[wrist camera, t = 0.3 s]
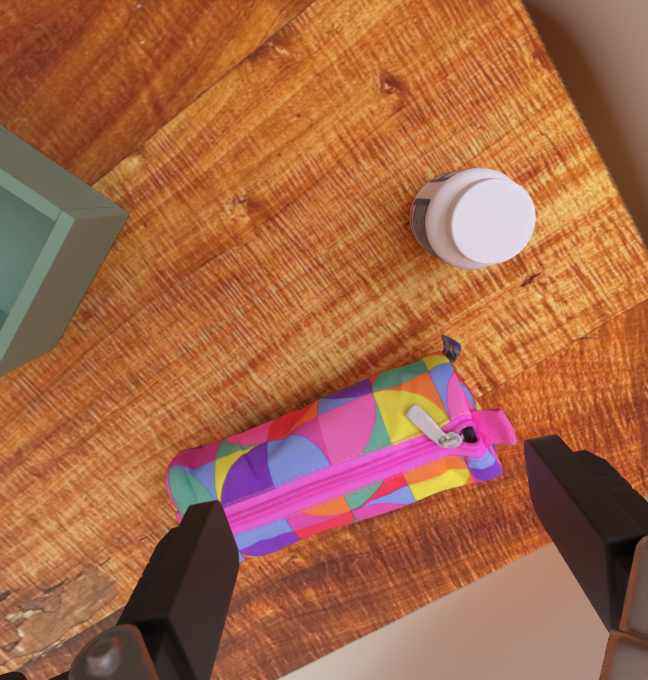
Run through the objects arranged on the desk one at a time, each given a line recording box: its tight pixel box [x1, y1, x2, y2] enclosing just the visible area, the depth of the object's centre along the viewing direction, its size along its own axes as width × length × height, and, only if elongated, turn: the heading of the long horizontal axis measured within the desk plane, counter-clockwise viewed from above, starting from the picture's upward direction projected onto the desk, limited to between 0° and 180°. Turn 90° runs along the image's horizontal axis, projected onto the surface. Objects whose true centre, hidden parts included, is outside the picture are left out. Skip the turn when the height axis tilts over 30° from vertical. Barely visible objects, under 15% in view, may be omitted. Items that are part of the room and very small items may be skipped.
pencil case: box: [165, 335, 517, 562], centre depth 31 cm, size 22×9×9 cm, turn 115°
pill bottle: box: [410, 168, 535, 269], centre depth 26 cm, size 5×5×9 cm
